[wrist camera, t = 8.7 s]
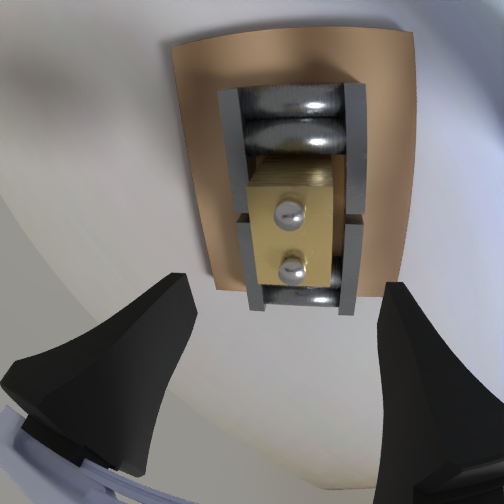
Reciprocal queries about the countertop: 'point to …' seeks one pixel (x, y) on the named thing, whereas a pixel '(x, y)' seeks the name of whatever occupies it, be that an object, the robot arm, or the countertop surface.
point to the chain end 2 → (333, 296)
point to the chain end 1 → (296, 131)
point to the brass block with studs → (292, 219)
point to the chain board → (378, 155)
